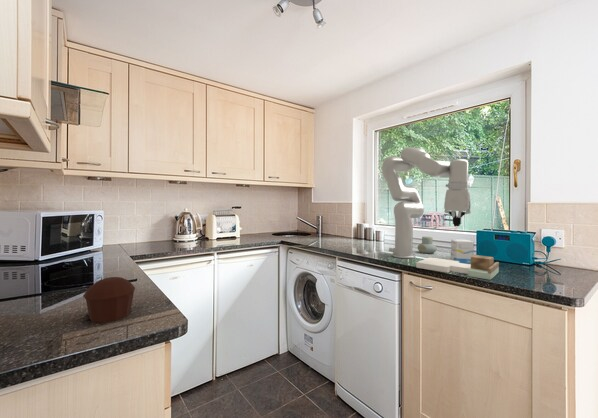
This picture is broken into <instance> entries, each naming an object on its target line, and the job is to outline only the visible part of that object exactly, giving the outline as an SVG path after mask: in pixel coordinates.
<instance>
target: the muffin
mask: <svg viewBox="0 0 598 418" xmlns="http://www.w3.org/2000/svg"><path fill="white" fill-rule="evenodd" d="M135 290H136V287H135V286H134V285H133V283H132V282H130V280H128V279H126V278H124V277H121V276H120V277H119V276H108V277H106V278H102V279H99V280H98V281H96V282H94V283H93V284H92V285H91V286H89V287H88V289H86V291H85V292H84V294H83V295H82V296H83V298H84V299H85V302H86V307H87V310H88V317H89V320H90V321H91V322H92V323H95V324H96V323H97V324H98V323H99V324H104V323H106V324H107V323H110V322H116V321H118V320H121V319H123V318H127V317H128V316H129V314H130V313H131V312H132V311H131V310H132V305H133V299H134V293H135Z"/></svg>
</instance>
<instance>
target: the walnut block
mask: <svg viewBox="0 0 598 418" xmlns="http://www.w3.org/2000/svg"><path fill="white" fill-rule="evenodd" d="M494 261H495V259H494V257H493V256H489V255H488V256H487V255H478V254H474V256H472V257H471V268H473V269H479V270H486V271H488V268H489V267H491V266H492V265H493V264H494V263H495V262H494Z"/></svg>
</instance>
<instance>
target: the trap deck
mask: <svg viewBox="0 0 598 418" xmlns="http://www.w3.org/2000/svg"><path fill="white" fill-rule="evenodd" d="M415 263H416V264H415V268H417V269H421V270H422V269H424V270H428V271H434V272H442V273H450V272H455V273H460V274H466V275H467V276H468V277H471V278H478V279H484V280H489V281H490V280H492V279H493V278H494V277H495V276H496V275H497V274H499V272H500V271H499V270H500V266H499V265H500V262H499V261H496V262H494V264H493V265H492V266H491V267H489V268H488V271H486V270H479V269H473V268H471V264H464V263H459V261H453V260H451V259H446V258H445V259H444V258H437V257H427V258H424V259H421V260H419V261H416V262H415Z"/></svg>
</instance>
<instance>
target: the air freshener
mask: <svg viewBox="0 0 598 418" xmlns="http://www.w3.org/2000/svg"><path fill="white" fill-rule="evenodd" d="M417 250H418V251H419V252H420V253H422V254H426V255H427V254H434V253H436V252H437V245H435V244H434V243H433V237H432V236H422V237H421V242H420V243H419V244H418V246H417Z"/></svg>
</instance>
